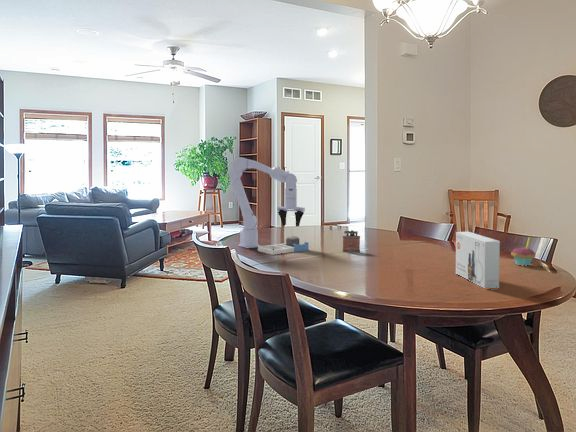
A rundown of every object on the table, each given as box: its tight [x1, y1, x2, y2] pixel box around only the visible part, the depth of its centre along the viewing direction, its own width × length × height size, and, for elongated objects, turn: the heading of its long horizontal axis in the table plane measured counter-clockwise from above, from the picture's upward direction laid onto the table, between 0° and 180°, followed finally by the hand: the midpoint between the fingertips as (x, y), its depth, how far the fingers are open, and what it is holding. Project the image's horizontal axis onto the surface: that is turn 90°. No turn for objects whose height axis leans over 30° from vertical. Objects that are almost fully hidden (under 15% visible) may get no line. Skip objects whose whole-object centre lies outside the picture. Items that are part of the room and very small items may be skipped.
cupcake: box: [510, 235, 536, 266], centre depth 179 cm, size 9×8×12 cm
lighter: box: [341, 229, 361, 254], centre depth 209 cm, size 8×3×10 cm, turn 84°
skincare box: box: [455, 231, 501, 289], centre depth 153 cm, size 21×5×16 cm, turn 5°
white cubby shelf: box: [257, 241, 310, 256], centre depth 213 cm, size 13×21×4 cm, turn 127°
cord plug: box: [285, 235, 300, 247], centre depth 216 cm, size 4×5×6 cm
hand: (290, 225), depth 222 cm, fingers open, 7 cm apart
